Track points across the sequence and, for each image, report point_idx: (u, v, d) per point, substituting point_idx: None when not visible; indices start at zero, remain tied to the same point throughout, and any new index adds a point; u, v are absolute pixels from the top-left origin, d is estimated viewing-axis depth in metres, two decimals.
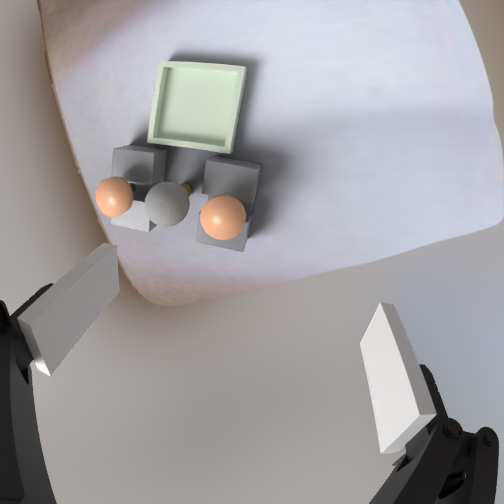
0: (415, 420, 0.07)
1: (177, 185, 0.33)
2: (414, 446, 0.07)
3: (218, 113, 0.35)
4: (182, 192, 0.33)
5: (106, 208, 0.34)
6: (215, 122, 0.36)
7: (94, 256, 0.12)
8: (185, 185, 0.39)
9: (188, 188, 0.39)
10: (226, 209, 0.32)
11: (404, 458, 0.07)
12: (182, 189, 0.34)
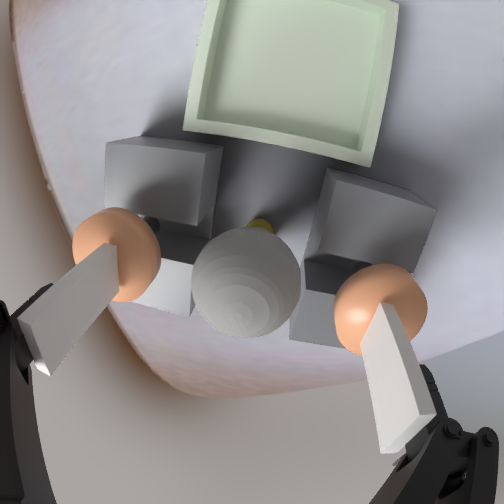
0: (415, 420, 0.07)
1: (278, 241, 0.14)
2: (414, 446, 0.07)
3: (341, 81, 0.16)
4: (293, 261, 0.14)
5: None
6: (334, 98, 0.16)
7: (94, 256, 0.12)
8: (264, 224, 0.20)
9: (271, 230, 0.20)
10: (399, 302, 0.13)
11: (404, 458, 0.07)
12: (289, 251, 0.14)
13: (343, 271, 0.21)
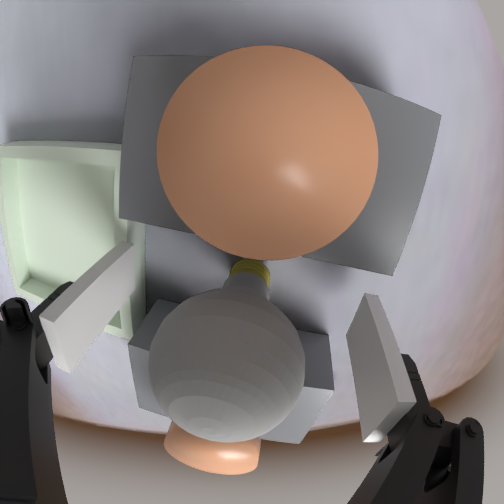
0: (394, 407, 0.08)
1: (161, 324, 0.10)
2: (395, 436, 0.08)
3: (72, 185, 0.15)
4: (173, 318, 0.09)
5: (234, 467, 0.13)
6: (88, 191, 0.15)
7: (113, 254, 0.13)
8: (230, 273, 0.15)
9: (238, 267, 0.15)
10: (211, 129, 0.06)
11: (386, 448, 0.08)
12: (173, 312, 0.09)
13: None
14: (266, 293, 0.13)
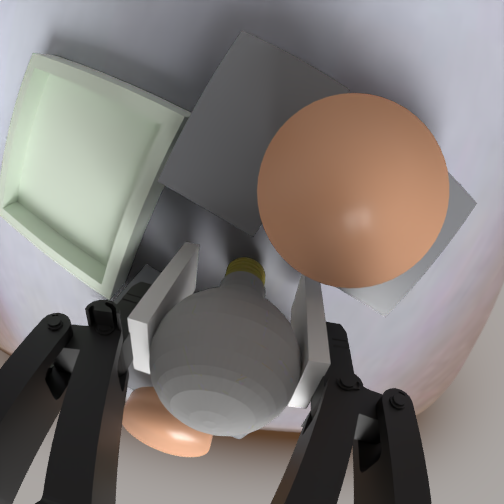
0: (307, 367, 0.09)
1: (173, 310, 0.10)
2: (313, 405, 0.09)
3: (100, 124, 0.13)
4: (193, 309, 0.09)
5: (183, 449, 0.13)
6: (115, 136, 0.14)
7: (183, 254, 0.14)
8: (229, 268, 0.15)
9: (239, 264, 0.15)
10: (327, 155, 0.06)
11: (308, 418, 0.09)
12: (190, 301, 0.09)
13: None
14: (264, 297, 0.14)
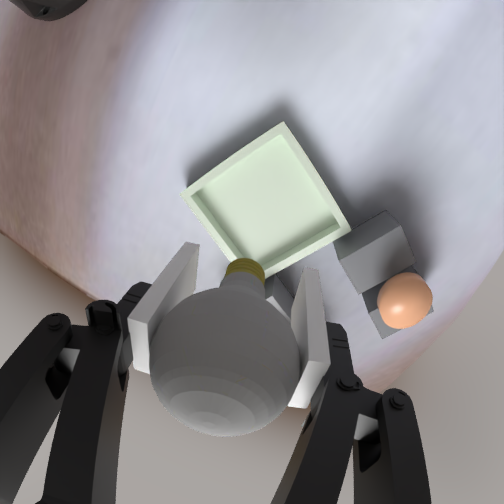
0: (307, 367, 0.09)
1: (172, 311, 0.10)
2: (313, 405, 0.09)
3: (299, 195, 0.27)
4: (193, 310, 0.09)
5: None
6: (304, 207, 0.28)
7: (183, 254, 0.14)
8: (229, 269, 0.15)
9: (239, 265, 0.15)
10: (406, 294, 0.22)
11: (308, 418, 0.09)
12: (190, 302, 0.09)
13: (385, 281, 0.29)
14: (263, 298, 0.14)
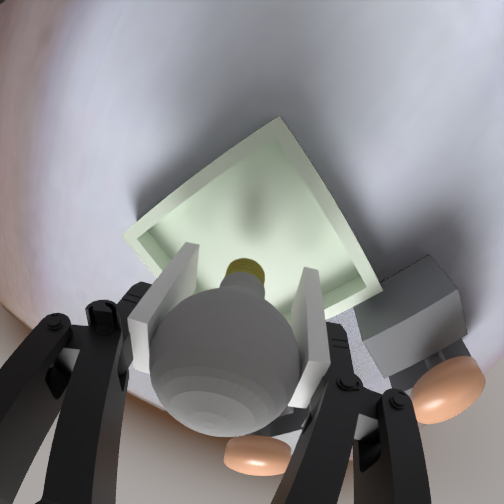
0: (307, 367, 0.09)
1: (172, 311, 0.10)
2: (313, 405, 0.09)
3: (305, 236, 0.17)
4: (193, 310, 0.09)
5: (259, 472, 0.18)
6: (312, 254, 0.18)
7: (183, 254, 0.14)
8: (229, 269, 0.15)
9: (239, 265, 0.15)
10: (455, 389, 0.12)
11: (308, 418, 0.09)
12: (190, 302, 0.09)
13: None
14: (263, 298, 0.14)
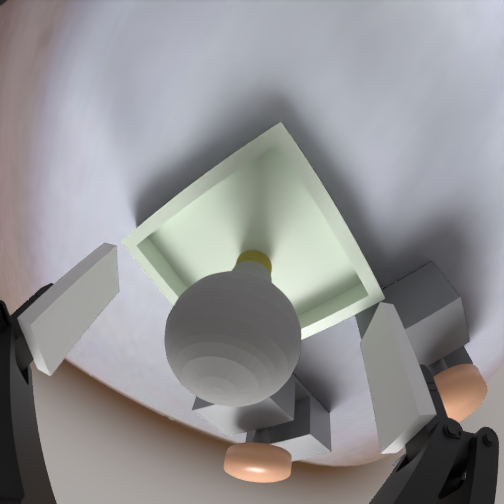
0: (415, 420, 0.07)
1: (188, 289, 0.11)
2: (414, 446, 0.07)
3: (306, 243, 0.17)
4: (207, 287, 0.10)
5: (259, 478, 0.18)
6: (314, 262, 0.18)
7: (94, 256, 0.12)
8: (239, 259, 0.17)
9: (248, 255, 0.16)
10: (456, 397, 0.12)
11: (404, 458, 0.07)
12: (204, 281, 0.11)
13: None
14: None
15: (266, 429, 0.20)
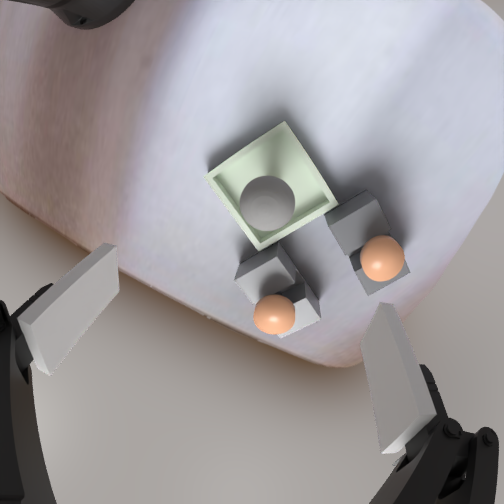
0: (415, 420, 0.07)
1: (250, 181, 0.28)
2: (414, 446, 0.07)
3: (297, 178, 0.35)
4: (259, 177, 0.28)
5: (275, 328, 0.35)
6: (301, 187, 0.35)
7: (94, 256, 0.12)
8: None
9: None
10: (382, 251, 0.29)
11: (404, 458, 0.07)
12: (257, 177, 0.28)
13: None
14: None
15: None
